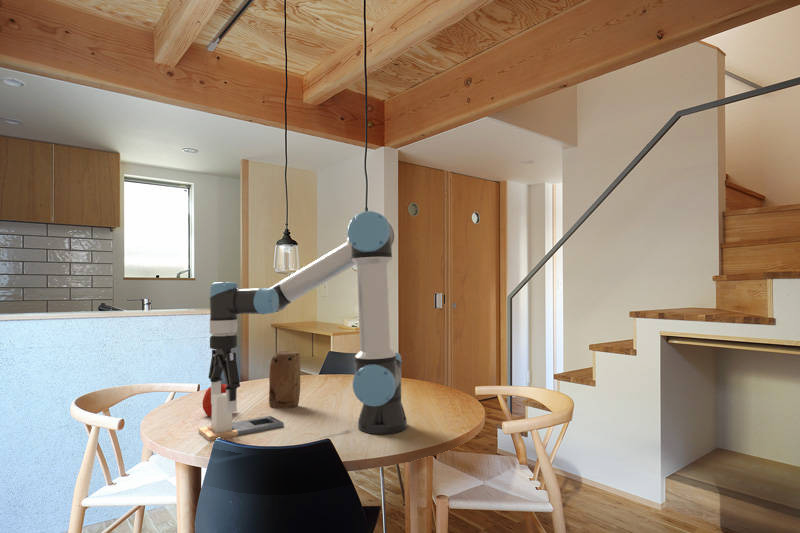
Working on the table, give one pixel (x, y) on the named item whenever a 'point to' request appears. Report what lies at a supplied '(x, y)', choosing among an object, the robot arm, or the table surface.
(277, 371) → the block
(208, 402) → the apple
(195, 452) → the table surface
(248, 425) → the grey slotted base plate
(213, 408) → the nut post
